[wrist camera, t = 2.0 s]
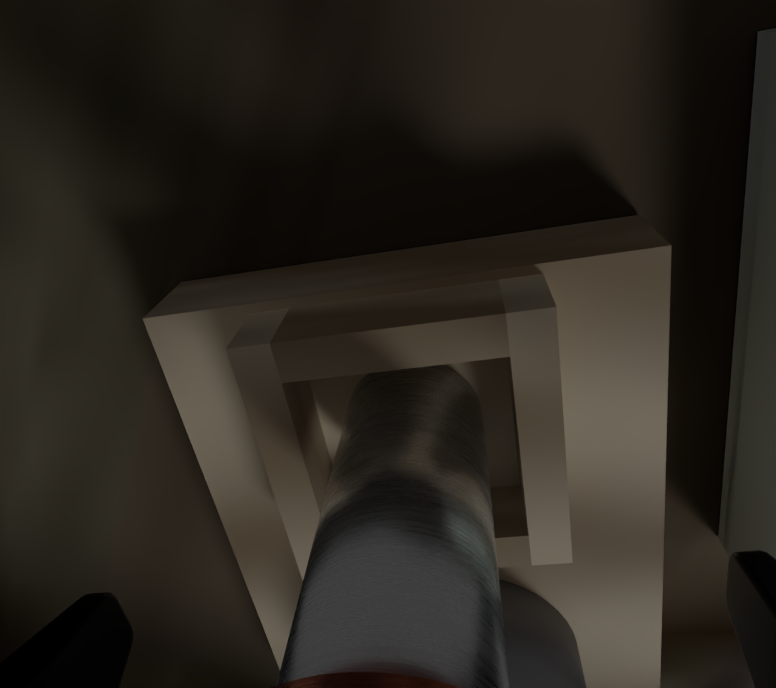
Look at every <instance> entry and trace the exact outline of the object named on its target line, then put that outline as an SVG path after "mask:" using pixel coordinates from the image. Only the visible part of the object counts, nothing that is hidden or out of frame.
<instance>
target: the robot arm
mask: <svg viewBox="0 0 776 688" xmlns="http://www.w3.org/2000/svg"><path fill="white" fill-rule="evenodd" d="M726 603H727V608H728V612H729V615H730V618H731V621H732V623H733V626H734V629H735V632H736V635H737V637H738V640H739V643H740V646H741V649H742V651H743V654H744V657H745V660H746V663H747V665H748V668H749V671H750V674H751V677H752V680H753V682H754V685H755V688H776V558H775V557H773V556H772V555H771V554H769V553H767V552H765V551H761V550H756V551H740V552H734V553H732V554H731V556H730V558H729V563H728V575H727V586H726ZM132 641H133V631H132V627H131V624H130V622H129V621H128V619H127V617H126V615H125V613H124V611H123V609H122V607H121V605H120V603H119V601H118V600H117V598H116V596H115V595H113V594H112V593H108V592H107V593H92V594H87V595H84V596H83V597H81V598H80V599H79V600H77V601H76V602H75V603H74V604H72V605H71V606H70V607H69V608H67V609H66V610H65V611H64V612H63V613H61V614H60V615H59V616H58V617H56V618H55V619H54V620H53V621H51V622H50V623H49V624H48V625H47V626H45V627H44V628H43V629H42V630H40V631H39V632H38V633H37V634H35V635H34V636H33V637H32V638H31V639H29V640H28V641H27V642H26V643H24V644H23V645H22V646H21V647H19V648H18V649H17V650H16V651H15V652H13V653H12V654H11V655H10V656H8V657H7V658H6V659H5V660H3V661H2V662H1V663H0V688H120V684H121V681H122V677H123V674H124V671H125V667H126V664H127V660H128V657H129V653H130V650H131V646H132Z"/></svg>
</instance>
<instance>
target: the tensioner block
mask: <svg viewBox="0 0 776 688" xmlns="http://www.w3.org/2000/svg"><path fill="white" fill-rule="evenodd" d="M671 246H672V245H671V244H670V243H668V242H667V241H666V240H665V239H664V238H663V237H662V236H661V235H660V234H659V233H658V232H657V231H656V230H655V229H654V228H653V227H652V226H651V225H650V224H648V223H647V222H646V221H645V220H644V219H643V218H642V217H641V216H640V215H634V216H627V217H620V218H613V219H606V220H600V221H593V222H586V223H579V224H572V225H565V226H559V227H552V228H545V229H538V230H531V231H525V232H518V233H511V234H504V235H497V236H491V237H484V238H477V239H470V240H463V241H456V242H450V243H443V244H436V245H429V246H422V247H416V248H409V249H402V250H395V251H388V252H382V253H375V254H368V255H361V256H354V257H348V258H341V259H334V260H327V261H320V262H313V263H307V264H300V265H293V266H286V267H279V268H273V269H266V270H259V271H252V272H245V273H239V274H232V275H225V276H218V277H211V278H204V279H198V280H191V281H184V282H181V283H179V284H178V285H177V286H176V287H175V288H174V289H173V290H172V291H171V292H170V293H169V294H168V295H167V296H166V297H165V298H164V299H163V300H162V301H161V302H160V303H158V304H157V305H156V306H155V307H154V308H153V309H152V310H151V311H150V312H149V313H148V314H147V315H146V316H145V317H144V318H143V321H144V323H145V326H146V329H147V331H148V334H149V336H150V339H151V341H152V344H153V346H154V349H155V352H156V354H157V357H158V359H159V362H160V364H161V367H162V369H163V372H164V375H165V377H166V380H167V382H168V385H169V387H170V390H171V393H172V395H173V398H174V400H175V403H176V405H177V408H178V410H179V413H180V416H181V418H182V421H183V423H184V426H185V428H186V431H187V434H188V436H189V439H190V441H191V444H192V446H193V449H194V451H195V454H196V457H197V459H198V462H199V464H200V467H201V469H202V472H203V475H204V477H205V480H206V482H207V485H208V487H209V490H210V492H211V495H212V498H213V500H214V503H215V505H216V508H217V510H218V513H219V516H220V518H221V521H222V523H223V526H224V528H225V531H226V533H227V536H228V539H229V541H230V544H231V546H232V549H233V551H234V554H235V556H236V559H237V562H238V564H239V567H240V569H241V572H242V574H243V577H244V580H245V582H246V585H247V587H248V590H249V592H250V595H251V597H252V600H253V603H254V605H255V608H256V610H257V613H258V615H259V618H260V621H261V623H262V626H263V628H264V631H265V633H266V636H267V638H268V641H269V644H270V646H271V649H272V651H273V654H274V656H275V659H276V662H277V664H278V667H279V669H281V665H282V661H283V657H284V653H285V649H286V646H287V642H288V638H289V634H290V630H291V626H292V622H293V618H294V614H295V611H296V607H297V603H298V599H299V595H300V591H301V587H302V583H303V579H304V576H305V572H306V568H307V564H308V560H309V556H310V552H311V548H312V545H313V541H314V537H315V533H316V529H317V525H318V521H319V517H320V513H321V510H322V506H323V502H324V498H325V494H326V490H327V486H328V482H329V478H330V475H331V471H332V467H333V463H334V459H335V455H336V451H337V447H338V444H339V440H340V436H341V432H342V428H343V424H344V420H345V416H346V412H347V409H348V405H349V401H350V398H351V395H352V393H353V391H354V389H355V387H356V386H357V385H358V383H359V382H360V381H361V380H362V379H363V378H364V377H365V376H366V375H367V374H368V373H375V372H384V371H392V370H401V369H409V368H418V367H427V366H435V365H445V366H447V367H449V368H451V369H453V370H454V371H456V372H457V373H459V374H460V375H461V376H463V377H464V378H465V379H466V380H467V381H468V382H469V383H470V385H471V386H472V387H473V388H474V390H475V392H476V394H477V395H478V398H479V400H480V403H481V407H482V412H483V422H484V432H485V442H486V453H487V463H488V473H489V483H490V493H491V503H492V513H493V523H494V533H495V543H496V554H497V564H498V574H499V584H500V594H501V604H502V614H503V624H504V634H505V645H506V655H507V665H508V675H509V685H510V688H660V667H661V629H662V590H663V552H664V514H665V476H666V437H667V399H668V361H669V323H670V284H671Z"/></svg>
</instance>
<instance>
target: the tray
mask: <svg viewBox="0 0 776 688" xmlns="http://www.w3.org/2000/svg"><path fill="white" fill-rule="evenodd" d="M718 538H719V540H720V542H721V544H722V546H723V548H724V550H725V551H726V553H727V555H728V557H729V558H730V556H731V554H732V553H734V552H740V551H756V550H761V551H765V552H767V553H769V554H771V555H772V556H773V557H775V558H776V28H774V29H769V30H763V31H758V36H757V48H756V61H755V74H754V87H753V100H752V112H751V125H750V138H749V151H748V164H747V176H746V189H745V202H744V215H743V228H742V240H741V253H740V266H739V279H738V292H737V304H736V317H735V330H734V343H733V356H732V368H731V381H730V394H729V407H728V420H727V432H726V445H725V458H724V471H723V484H722V496H721V509H720V522H719V535H718Z"/></svg>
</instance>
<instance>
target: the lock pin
mask: <svg viewBox="0 0 776 688" xmlns="http://www.w3.org/2000/svg"><path fill="white" fill-rule="evenodd" d="M272 688H510V685H509V675H508V665H507V655H506V645H505V634H504V624H503V614H502V604H501V594H500V584H499V574H498V564H497V554H496V543H495V533H494V523H493V513H492V503H491V493H490V483H489V473H488V463H487V453H486V442H485V432H484V422H483V412H482V407H481V403H480V400H479V398H478V395H477V394H476V392H475V390H474V388H473V387H472V386H471V385H470V383H469V382H468V381H467V380H466V379H465V378H464V377H463V376H461V375H460V374H459V373H457V372H456V371H454V370H453V369H451V368H449V367H447V366H445V365H435V366H427V367H418V368H409V369H401V370H392V371H384V372H375V373H368V374H367V375H366V376H365V377H364V378H363V379H362V380H361V381H360V382H359V383H358V385H357V386H356V387H355V389H354V391H353V393H352V395H351V398H350V401H349V405H348V409H347V412H346V416H345V420H344V424H343V428H342V432H341V436H340V440H339V444H338V447H337V451H336V455H335V459H334V463H333V467H332V471H331V475H330V478H329V482H328V486H327V490H326V494H325V498H324V502H323V506H322V510H321V513H320V517H319V521H318V525H317V529H316V533H315V537H314V541H313V545H312V548H311V552H310V556H309V560H308V564H307V568H306V572H305V576H304V579H303V583H302V587H301V591H300V595H299V599H298V603H297V607H296V611H295V614H294V618H293V622H292V626H291V630H290V634H289V638H288V642H287V646H286V649H285V653H284V657H283V661H282V665H281V669H280V673H279V677H278V680H277V684H276V686H274V687H272Z"/></svg>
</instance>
